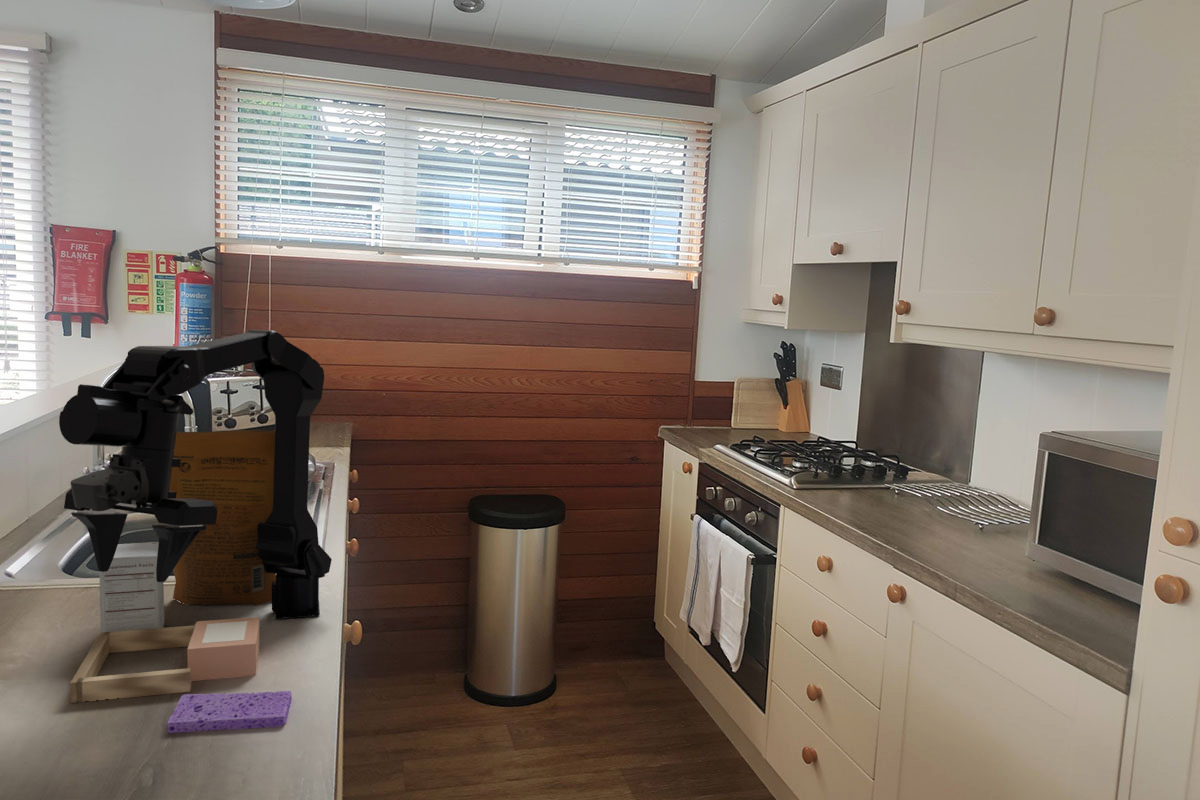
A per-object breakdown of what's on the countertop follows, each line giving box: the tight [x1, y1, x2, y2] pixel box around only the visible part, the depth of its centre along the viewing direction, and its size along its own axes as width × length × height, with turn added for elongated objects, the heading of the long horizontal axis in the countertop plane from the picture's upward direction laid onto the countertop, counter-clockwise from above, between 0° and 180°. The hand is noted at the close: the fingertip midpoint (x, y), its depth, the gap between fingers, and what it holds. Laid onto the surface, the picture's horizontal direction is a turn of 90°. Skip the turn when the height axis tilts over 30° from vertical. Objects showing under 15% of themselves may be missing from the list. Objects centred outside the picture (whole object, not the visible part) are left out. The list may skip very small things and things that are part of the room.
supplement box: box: [98, 541, 165, 633], centre depth 122 cm, size 7×7×13 cm
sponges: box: [167, 690, 293, 734], centre depth 101 cm, size 7×13×2 cm, turn 102°
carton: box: [186, 616, 260, 682], centre depth 115 cm, size 8×10×5 cm
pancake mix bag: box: [169, 429, 276, 606], centre depth 137 cm, size 7×19×28 cm, turn 96°
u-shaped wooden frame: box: [70, 624, 196, 704], centre depth 112 cm, size 13×16×2 cm
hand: (131, 576), depth 105 cm, fingers open, 9 cm apart
